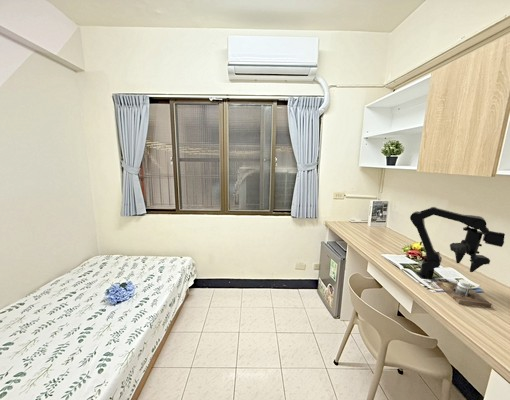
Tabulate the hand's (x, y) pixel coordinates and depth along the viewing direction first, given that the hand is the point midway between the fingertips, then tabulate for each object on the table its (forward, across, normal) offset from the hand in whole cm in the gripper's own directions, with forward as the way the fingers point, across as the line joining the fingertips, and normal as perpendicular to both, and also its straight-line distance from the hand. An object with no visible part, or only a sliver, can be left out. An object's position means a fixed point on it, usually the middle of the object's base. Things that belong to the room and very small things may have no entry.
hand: (464, 267), depth 118 cm
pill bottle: (+12, +9, -5) cm, 16 cm away
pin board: (+12, +8, -4) cm, 15 cm away
